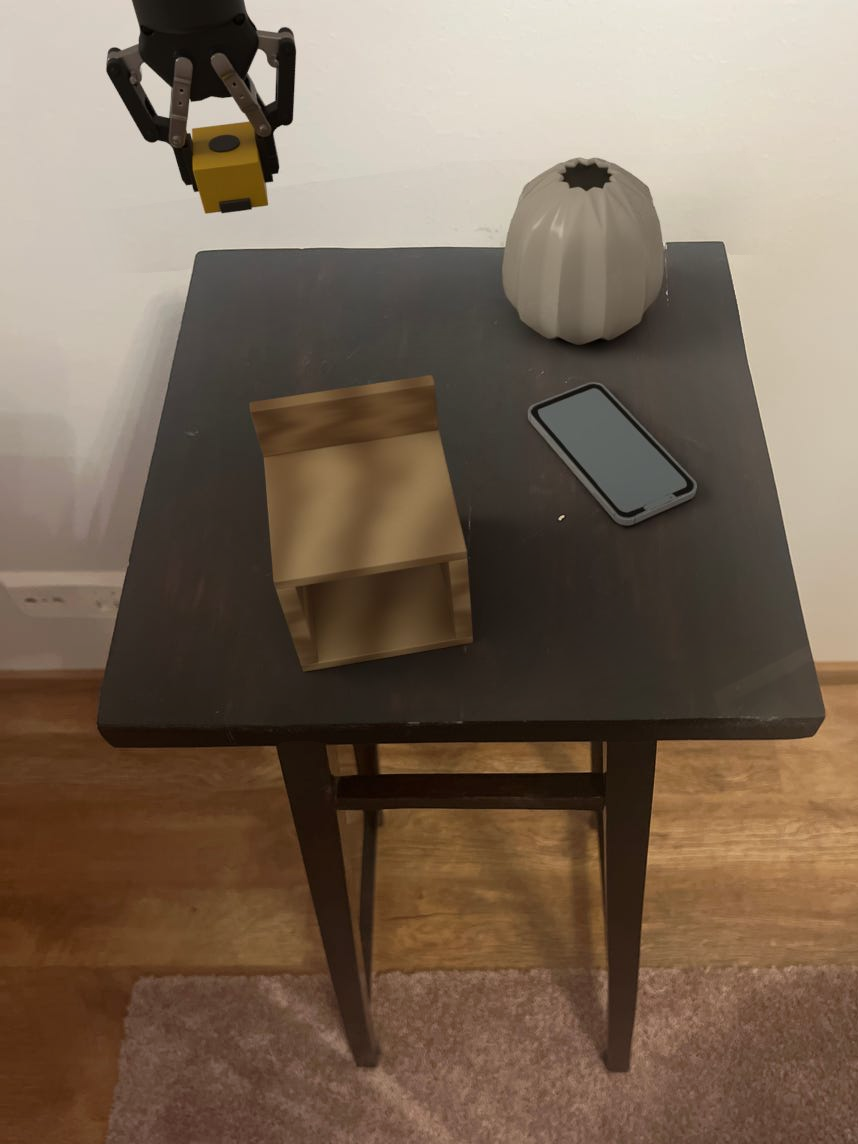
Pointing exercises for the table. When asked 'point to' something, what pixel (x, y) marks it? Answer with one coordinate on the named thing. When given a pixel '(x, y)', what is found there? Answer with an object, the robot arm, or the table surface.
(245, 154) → the measuring tape
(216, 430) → the table surface
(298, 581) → the shelf
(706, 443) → the table surface
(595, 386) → the smartphone
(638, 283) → the vase
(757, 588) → the table surface
